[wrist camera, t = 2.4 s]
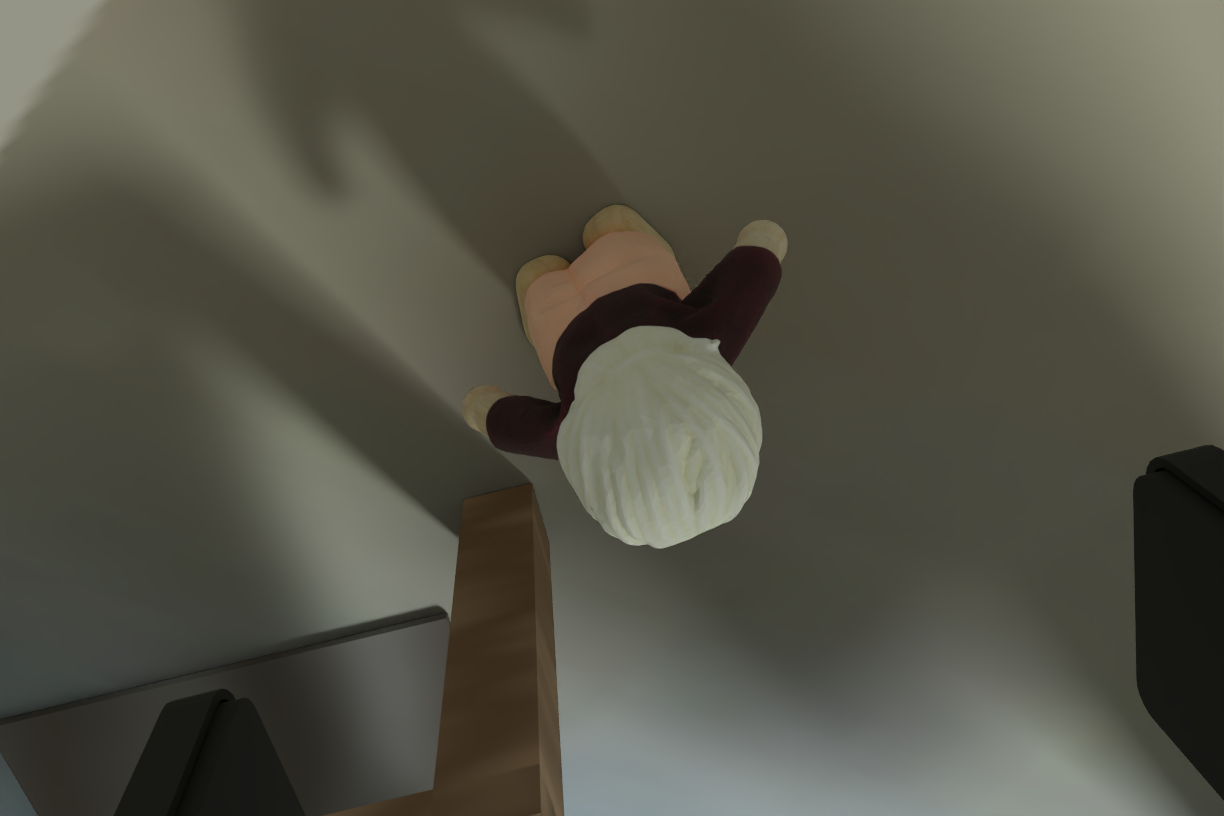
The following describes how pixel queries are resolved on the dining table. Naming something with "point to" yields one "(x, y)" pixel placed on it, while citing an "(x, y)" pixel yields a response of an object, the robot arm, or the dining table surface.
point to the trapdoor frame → (364, 701)
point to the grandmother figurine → (641, 377)
